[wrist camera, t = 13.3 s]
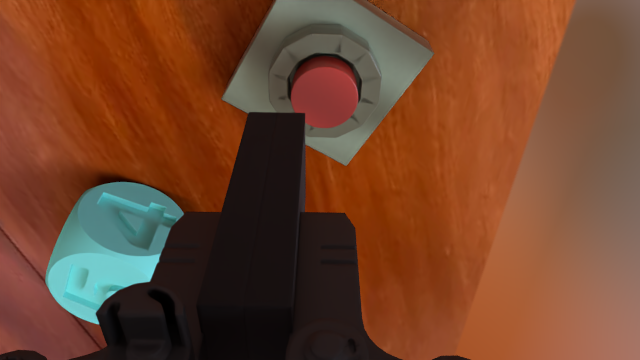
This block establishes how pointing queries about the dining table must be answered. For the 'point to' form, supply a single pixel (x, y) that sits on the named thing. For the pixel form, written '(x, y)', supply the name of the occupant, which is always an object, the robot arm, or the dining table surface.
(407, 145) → the dining table surface
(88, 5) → the dining table surface
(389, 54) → the button block
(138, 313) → the robot arm
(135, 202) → the decorative dice
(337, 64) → the button
